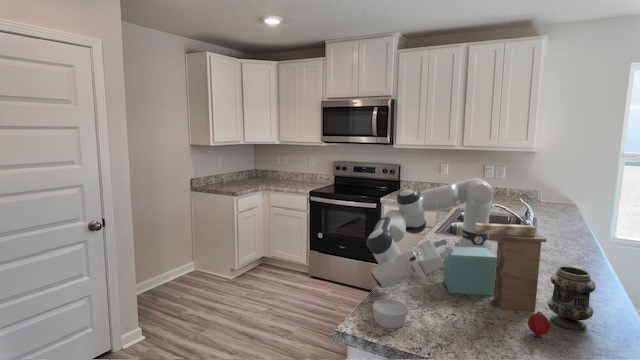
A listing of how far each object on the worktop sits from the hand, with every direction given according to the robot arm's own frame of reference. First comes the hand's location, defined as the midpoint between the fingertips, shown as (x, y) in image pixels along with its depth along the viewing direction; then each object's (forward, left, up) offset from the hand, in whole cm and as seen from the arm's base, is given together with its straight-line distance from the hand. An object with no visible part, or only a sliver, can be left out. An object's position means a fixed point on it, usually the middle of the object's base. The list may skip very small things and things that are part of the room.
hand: (449, 244), depth 130 cm
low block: (-12, +11, -21) cm, 27 cm away
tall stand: (0, +23, -21) cm, 31 cm away
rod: (0, +18, +5) cm, 19 cm away
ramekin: (+18, -21, -21) cm, 35 cm away
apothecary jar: (+11, +36, -21) cm, 43 cm away
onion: (+20, +23, -21) cm, 37 cm away
